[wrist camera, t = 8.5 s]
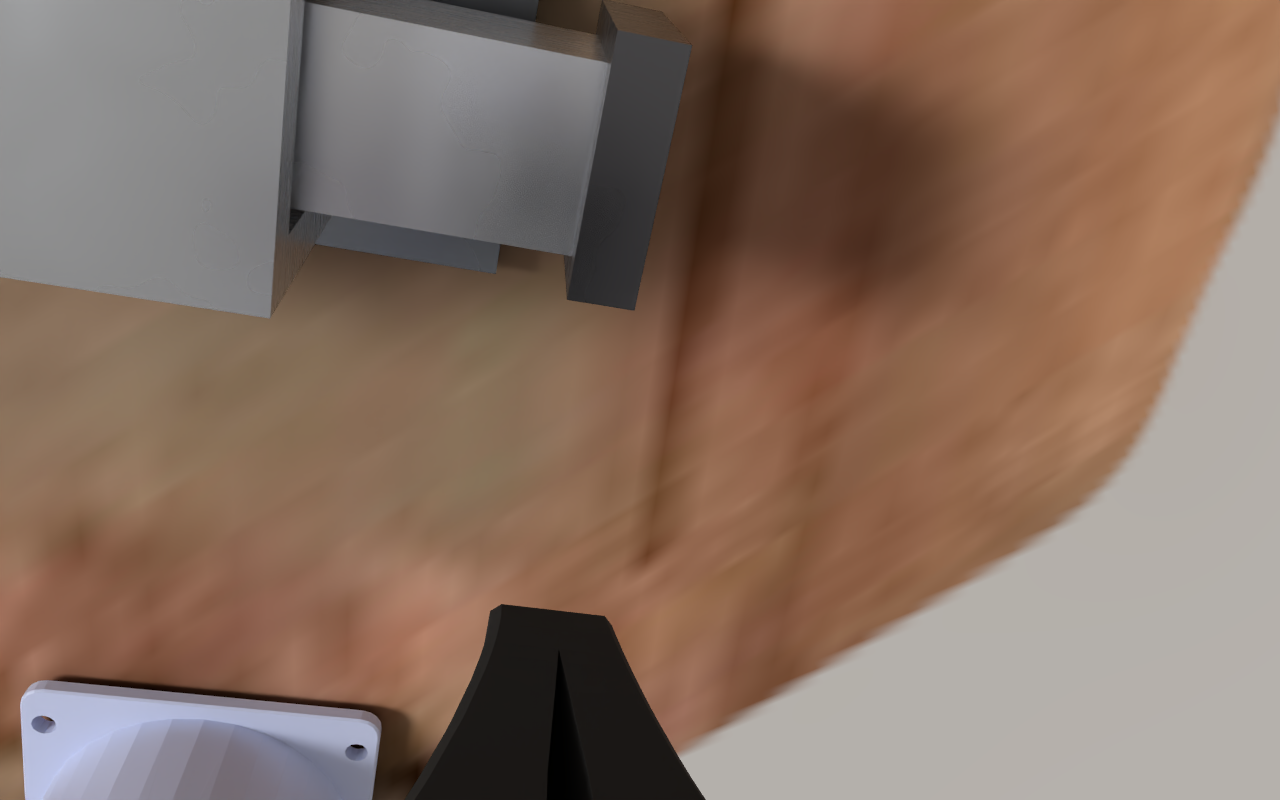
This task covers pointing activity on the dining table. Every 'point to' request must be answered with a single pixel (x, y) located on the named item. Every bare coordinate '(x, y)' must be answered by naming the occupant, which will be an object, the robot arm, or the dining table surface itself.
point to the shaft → (493, 129)
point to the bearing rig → (172, 152)
